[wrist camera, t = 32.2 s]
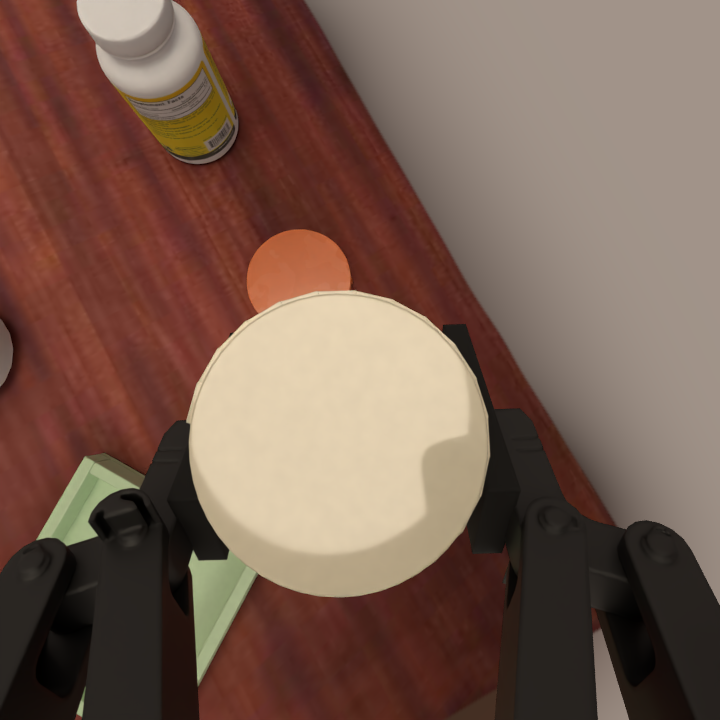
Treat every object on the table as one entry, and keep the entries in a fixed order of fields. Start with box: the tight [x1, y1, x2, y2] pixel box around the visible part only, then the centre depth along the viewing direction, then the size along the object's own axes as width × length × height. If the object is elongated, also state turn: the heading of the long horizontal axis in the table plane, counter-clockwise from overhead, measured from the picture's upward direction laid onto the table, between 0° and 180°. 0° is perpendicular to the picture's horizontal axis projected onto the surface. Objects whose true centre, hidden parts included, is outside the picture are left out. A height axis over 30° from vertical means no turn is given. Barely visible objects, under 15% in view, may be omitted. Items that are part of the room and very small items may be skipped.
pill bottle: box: [77, 0, 238, 164], centre depth 29 cm, size 6×6×11 cm
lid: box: [247, 229, 353, 314], centre depth 32 cm, size 7×7×2 cm
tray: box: [37, 453, 258, 717], centre depth 30 cm, size 14×14×2 cm
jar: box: [186, 290, 490, 597], centre depth 14 cm, size 6×6×11 cm
